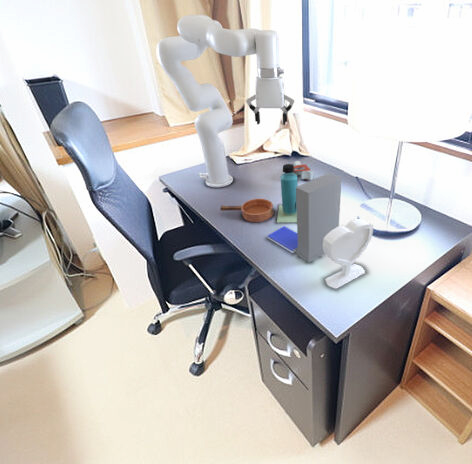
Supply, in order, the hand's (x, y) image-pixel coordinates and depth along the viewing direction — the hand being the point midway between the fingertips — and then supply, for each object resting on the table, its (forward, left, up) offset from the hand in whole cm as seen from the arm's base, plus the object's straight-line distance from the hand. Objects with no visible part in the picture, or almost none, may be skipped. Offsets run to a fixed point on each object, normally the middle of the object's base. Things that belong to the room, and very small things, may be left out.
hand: (271, 123), depth 119 cm
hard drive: (+7, -32, -31) cm, 45 cm away
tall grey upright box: (+17, -37, -31) cm, 51 cm away
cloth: (+7, -14, -31) cm, 35 cm away
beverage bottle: (+7, -14, -31) cm, 35 cm away
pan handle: (-16, -14, -29) cm, 36 cm away
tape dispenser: (+10, +21, -31) cm, 39 cm away
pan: (-6, -14, -31) cm, 35 cm away
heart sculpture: (+25, -49, -31) cm, 64 cm away
